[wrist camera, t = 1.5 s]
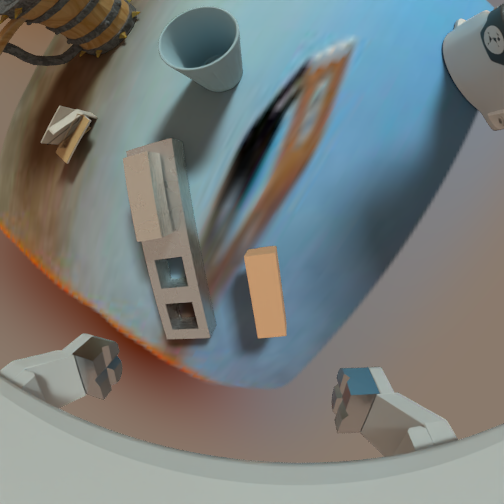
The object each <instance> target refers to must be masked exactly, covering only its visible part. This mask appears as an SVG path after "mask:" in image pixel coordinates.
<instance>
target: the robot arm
mask: <svg viewBox="0 0 504 504" xmlns="http://www.w3.org/2000/svg"><path fill="white" fill-rule="evenodd" d="M443 55H444V60H445V63H446V66H447V69H448V71H449V73H450V75H451V77H452V79H453V81H454V82H455V84H456V86H457V87H458V89H459V90H460V91H461V93H462V94H463V95H464V97H465V98H466V99H467V100H468V101H469V102H470V103H471V104H472V105H473V106H474V107H475V108H477V109H478V110H479V111H480V112H481V113H482V115H483V116H484V118H485V120H486V122H487V123H488V125H489V126H490V127H491V129H493V130H495V131H496V130H501V129H504V4H502V5H500V6H497V7H496V8H494V10H493V11H491V12H489V11H487V10H485V11H483V12H481V13H479V14H477V15H475V16H474V17H472V18H470V19H468V20H467V21H466V20H464V19H459V20H457V21H456V22H455V27H454V30H453V31H451V32H450V33H448V34H447V35H446V37H445V39H444V42H443ZM118 353H119V348H118V344H117V343H116V342H114V341H110V340H107V339H103V338H100V337H96V336H93V335H89V334H82V335H80V336H79V337H78V338H77V339H75V340H74V341H73V342H72V343H70V344H69V345H68V346H67V347H66V348H64V349H63V350H62V351H60V350H57V351H53V352H49V353H45V354H41V355H36V356H32V357H28V358H24V359H20V360H15V361H12V362H11V363H9V364H8V365H7V366H6V367H4V368H3V369H1V370H0V504H504V423H503V424H501V425H499V426H496V427H494V428H491V429H488V430H486V431H483V432H480V433H478V434H475V435H472V436H469V437H466V438H463V439H460V440H458V439H457V437H456V435H455V434H454V432H453V430H452V428H451V427H450V425H449V423H448V422H447V420H446V419H444V418H442V417H440V416H438V415H437V414H435V413H433V412H431V411H430V410H428V409H426V408H424V407H422V406H421V405H419V404H417V403H415V402H414V401H412V400H410V399H409V398H407V397H405V396H403V395H402V394H400V393H394V391H393V389H392V387H391V385H390V383H389V381H388V379H387V377H386V375H385V374H384V372H383V370H382V368H381V367H367V368H340V370H339V372H338V375H337V380H338V384H337V385H336V386H335V387H334V390H333V394H332V409H333V412H334V413H335V414H336V418H335V424H336V429H337V433H356V432H361V434H362V435H363V436H364V437H365V438H366V439H367V440H368V441H369V442H370V443H371V444H372V445H373V446H374V447H375V448H376V449H377V450H378V451H379V452H380V453H381V454H382V455H384V456H385V457H380V458H372V459H363V460H354V461H342V462H323V463H283V462H281V463H280V462H263V461H251V460H240V459H232V458H225V457H218V456H211V455H205V454H200V453H194V452H189V451H184V450H179V449H174V448H170V447H166V446H162V445H158V444H154V443H151V442H147V441H144V440H140V439H137V438H133V437H130V436H127V435H124V434H121V433H118V432H115V431H112V430H109V429H106V428H104V427H101V426H98V425H96V424H93V423H91V422H88V421H86V420H83V419H81V418H79V417H76V416H74V415H72V414H69V413H67V412H65V411H63V410H61V409H59V408H61V407H63V406H65V405H67V404H69V403H71V402H73V401H75V400H77V399H79V398H81V397H83V396H85V395H86V394H87V395H90V396H93V397H96V398H99V399H103V400H104V399H105V397H107V395H108V394H109V392H110V391H111V385H114V384H116V383H117V382H118V381H119V380H120V377H121V374H122V363H121V361H120V359H119V358H118V356H117V355H118Z"/></svg>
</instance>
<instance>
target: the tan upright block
mask: <svg viewBox="0 0 504 504" xmlns="http://www.w3.org/2000/svg"><path fill="white" fill-rule="evenodd" d="M244 259H245V265H246V271H247V277H248V283H249V289H250V295H251V301H252V306H253V312H254V318H255V324H256V330H257V335H258V338H269V337H280V336H286V316H285V308H284V300H283V292H282V285H281V277H280V270H279V262H278V255H277V248H276V246H269V247H261V248H257V249H249V250H248V251H247V252H246V254H245V256H244Z"/></svg>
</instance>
